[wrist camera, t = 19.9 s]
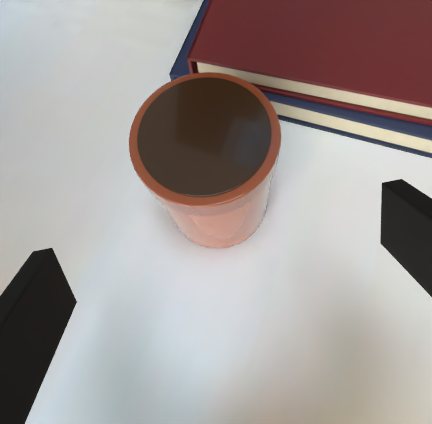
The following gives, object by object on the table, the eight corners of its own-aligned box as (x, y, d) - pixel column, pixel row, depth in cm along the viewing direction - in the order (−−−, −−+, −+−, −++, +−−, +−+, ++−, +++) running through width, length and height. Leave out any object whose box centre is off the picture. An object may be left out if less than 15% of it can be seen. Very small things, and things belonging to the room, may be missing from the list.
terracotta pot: (152, 232, 28) (102, 179, 18) (188, 144, 30) (161, 56, 20) (251, 265, 26) (253, 226, 17) (281, 170, 28) (299, 88, 19)
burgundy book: (190, 77, 29) (186, 57, 27) (237, -45, 33) (237, -70, 31) (450, 130, 26) (468, 112, 24) (468, -12, 30) (484, -38, 28)
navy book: (175, 93, 32) (169, 73, 29) (229, -27, 36) (228, -53, 34) (432, 159, 28) (450, 143, 26) (460, 16, 32) (478, -10, 30)
